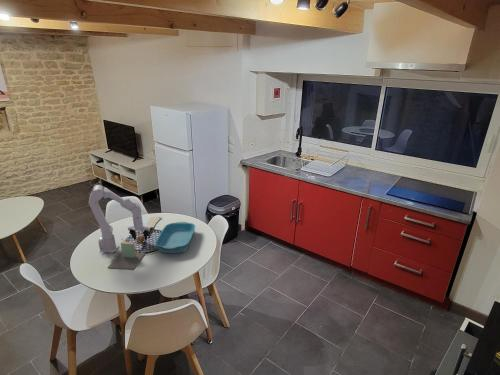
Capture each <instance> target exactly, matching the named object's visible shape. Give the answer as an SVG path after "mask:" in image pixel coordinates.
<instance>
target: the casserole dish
mask: <svg viewBox="0 0 500 375" xmlns="http://www.w3.org/2000/svg"><path fill="white" fill-rule="evenodd" d="M195 229H196V225H195V224H194V223H193V222H187V221H176V222H171V223H168V224H166V225H165V226H164V227H163V229H162V230H161V232H160V233H159V235H158V237H157V238H156V240H155V246H156V247H157V249H158V251H159V252H161V253H164V254H180V253H184V252H185V251H186V250H187V249H189V246H190V244H191V241H192V239H193V236H194V234H195Z"/></svg>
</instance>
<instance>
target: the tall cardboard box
mask: <svg viewBox="0 0 500 375" xmlns="http://www.w3.org/2000/svg"><path fill="white" fill-rule="evenodd" d="M144 240H145V238H144V234H139V235H138V237H136V240H135V241H136V245H137V244H142V243H143V241H144ZM144 242H145V241H144ZM143 244H144V243H143ZM143 244H142V245H143Z"/></svg>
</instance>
